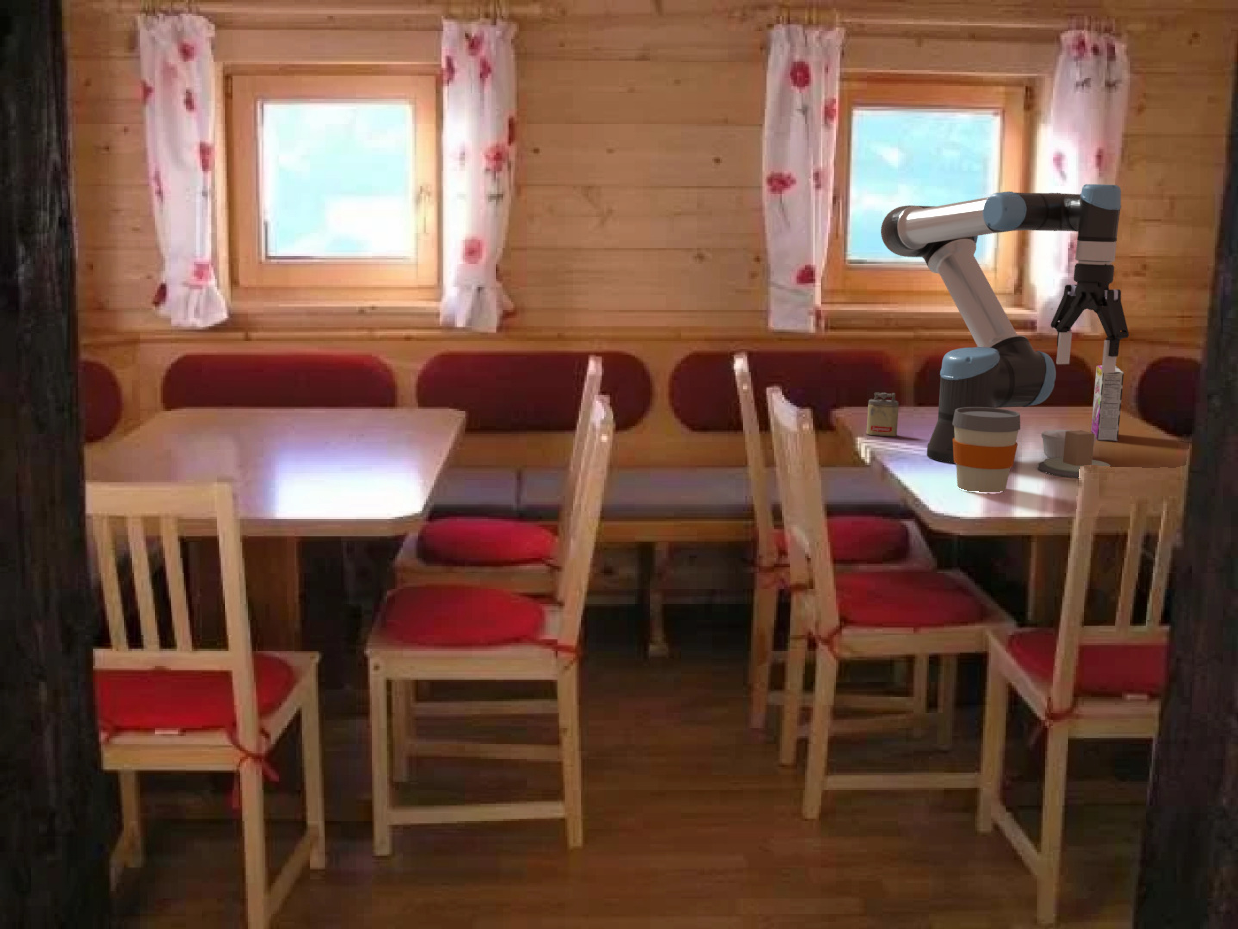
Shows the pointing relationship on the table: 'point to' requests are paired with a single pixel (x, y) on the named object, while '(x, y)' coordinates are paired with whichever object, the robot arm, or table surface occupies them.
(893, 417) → the lighter
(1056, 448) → the ramekin
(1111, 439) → the candy bar box
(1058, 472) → the trivet
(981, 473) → the reusable coffee cup
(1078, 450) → the lid
